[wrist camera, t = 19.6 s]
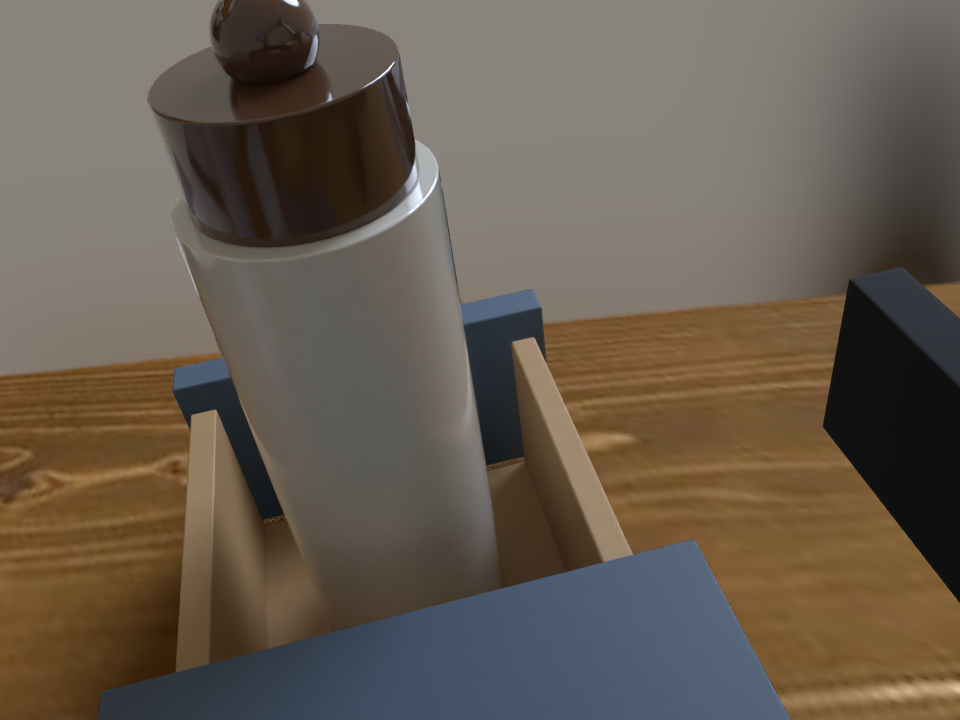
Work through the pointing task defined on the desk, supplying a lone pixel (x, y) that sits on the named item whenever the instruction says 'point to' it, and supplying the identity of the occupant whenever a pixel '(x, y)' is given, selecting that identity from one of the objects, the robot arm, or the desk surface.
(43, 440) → the desk surface
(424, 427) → the salt mill
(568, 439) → the drawer
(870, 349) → the robot arm
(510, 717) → the cabinet
